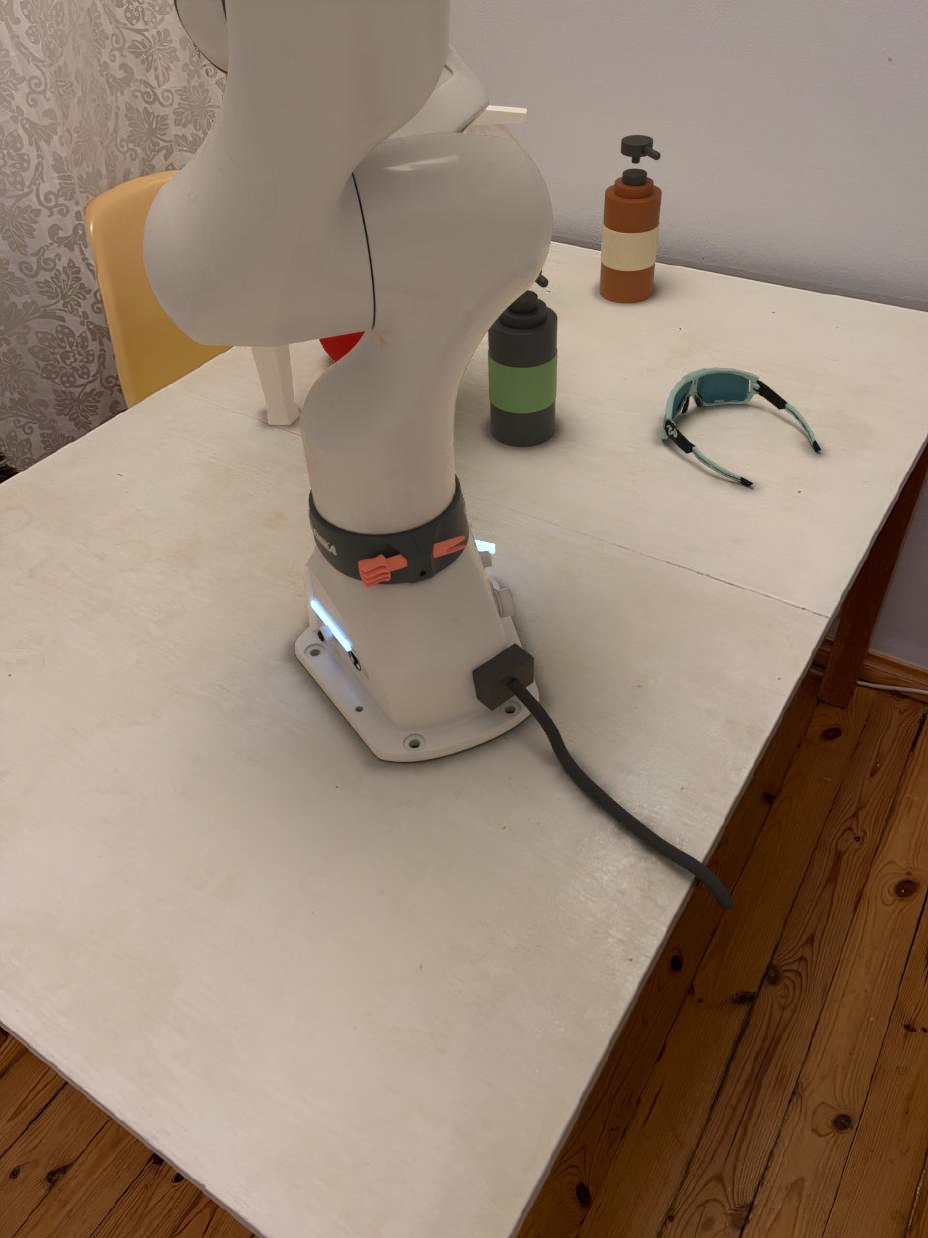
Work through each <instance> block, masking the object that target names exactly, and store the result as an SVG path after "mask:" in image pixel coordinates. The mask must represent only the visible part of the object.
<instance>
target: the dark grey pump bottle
mask: <svg viewBox="0 0 928 1238" xmlns="http://www.w3.org/2000/svg"><path fill="white" fill-rule="evenodd" d="M538 297H539V295H538V294H537V292H535V291H532V290H530V289H528V290H527V291H526V292H525V293H523V294H522V295H521V296H520V297H518V298H517V299H516V300H515V301H514V302H513V303H512V304H511V305H510V306H509V307H508V308H507V309H506V310H505V311H504V312H503V313H502V314H501V315H500V316H499V317H498V319H497V320H496V321H495V322H494V323H493V325H492V326H491V327H490V329H489V330H488V332H487V343H488V344H487V345H488V346H487V347H488V349H487V371H488V372H487V374H488V399H489V416H490V417H489V419H490V434H491V435H492V437H493V438H494V439H495V440H496V441H498V442H499V443H501V444H503V445H506V446H511V447H515V448H528V447H535V446H539V445H541V444H543V443H545V442H547V441H548V440H550V439H551V438H552V437H553V436H554V433H555V431H556V399H557V385H558V314H557V313H556V311H554V310H553V309H552V308H550V307H549V306H547V303H546V302H545V301H544V300H542V299H540V298H538Z"/></svg>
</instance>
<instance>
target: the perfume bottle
mask: <svg viewBox="0 0 928 1238" xmlns="http://www.w3.org/2000/svg"><path fill="white" fill-rule="evenodd" d="M250 349H251V352H252V356H253V359H254V364H255V367H256V370H257V375H258V378H259V381H260V384H261V388H262V392H263V396H264V399H265V403H266V406H267V407H266V418H267V424H268V425H270V426H290V425H292V424H293V423H294V422H295V421H296V420H297V419H298V418H300V414H301V411H300V410H299V408H298V406H297V404H296V402H295V392H294V384H293V383H294V382H293V372H292V371H293V370H292V363H291V352H290V344H287V345H281V346H275V347H250Z"/></svg>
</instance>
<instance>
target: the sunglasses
mask: <svg viewBox="0 0 928 1238" xmlns="http://www.w3.org/2000/svg"><path fill="white" fill-rule="evenodd" d="M759 379H760V376H758V375H756V374H754V373H752V372H749V371H745V370H741V369H736V368H733V367H732V368H731V367H730V368H729V367H718V366H717V367H716V366H714V367H708V368H706V367H703V368H700V369H697V370H696V369H695V370H693V371H691V372H688V373H687V374H685V375H683V376H682V377H681V379H680V380H678V382H676V384H675V385H674V387H673V388H672V389H671V391H670V392H669V395H668V397H667V401H666V404H665V405H666V406H665V413H664V419H663V425H662V431H661V436H660V439H661V440H668V438H669V439H670V441H672V443H674V444H675V445H676V446H677V447H678V448H679V449H680V450H681V451H683V452H684V454H685V455H688V454H692V455H694V457H695V458H696V459H697V460H698V461H699V462H700V463H702V464H703V465H705V466H706V467H707V468H709V469H711V470H712V471H714V472H716V473H718V474H719V475H721V476H723V477H726V478H727V479H730V480H732V481H735V482H737V483H740V484H741V485H743V486H745V487H747V488H749V487H751V486H752V485H754V482H753V481H750V480H749V479H747V478H745V477H744V476H741V475H739V474H736V473H734V472H732V471H730V470H728V469H726V468H725V467H723V466H721V465H719V464H717V463H716V462H715V461H713V460H711V459H710V458H708V457H707V456H706V455H705V454H703V453H702V452H701V451H700V450H699V448H698V446H697V445H695V444H694V443H692V442H691V441H690V440H689V439H688V438H687V437H686V436H685V435H684V434H683V433H682V432H681V431H680V430H679V429H678V428H677V427H676V423H675V421H676V419H677V417H678V415H679V414H682V415H685V414H687V413H688V410H689V406H690V398H691V397H692V399H693V402H694V403H695V405H696V407H697V408H698V407H699V408H701V407H702V406H704V407H707V408H708V407H714V406H721V405H745V404H747V403H748V402H751V400H752V399H753V398H754V396H755V395H758V396H760V397H762V398H764V399H765V401H767V402H769V403H770V404H771V405H772V406H773V407H775V408H776V409H778V410H779V411H781V410H784V411H785V412H786V413H788V414H789V415H791V416H792V417H793V418H794V419H795V420H796V421H797V423H798V424H799V425H800V426H801V427H802V429H803V431H804V432H805V434H806V436H807V437H808V440H809V442H810V444H811V446H812V448H813V450H814V451H815V452H816V453H818V452H820V451H822V447H820V445H819V443H818V442H817V439H816V437H815V433H814V432H813V430H812V428H811V427H810V425H809V424H808V422H807V421H806V419H805V417H804V416H803V415H802V414H801V413H800V411H799V410H798V409H797V408H796V407H794V406H793V405H792V404H790V403H789V402H788V401H787V400H785V399H784V398H783V397H782V396H781V395H779V394H778V393H777V392H776V391H775V390H774V389H773V388H771V387H770V386H769V385H767V384H766V383H765V382H763V381H762V380H759Z"/></svg>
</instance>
